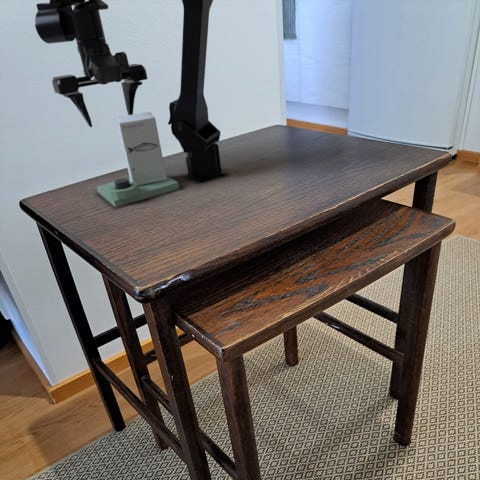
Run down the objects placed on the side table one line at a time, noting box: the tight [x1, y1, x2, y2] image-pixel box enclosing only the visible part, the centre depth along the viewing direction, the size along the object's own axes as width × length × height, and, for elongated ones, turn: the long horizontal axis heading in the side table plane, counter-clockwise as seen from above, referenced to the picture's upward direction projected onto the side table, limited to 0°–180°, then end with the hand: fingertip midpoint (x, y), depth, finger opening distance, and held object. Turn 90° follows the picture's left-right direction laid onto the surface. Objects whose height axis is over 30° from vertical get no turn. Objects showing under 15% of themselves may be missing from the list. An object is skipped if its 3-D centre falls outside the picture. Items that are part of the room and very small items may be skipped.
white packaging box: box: [114, 111, 168, 185], centre depth 93 cm, size 7×7×13 cm
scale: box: [96, 176, 180, 208], centre depth 94 cm, size 14×13×3 cm
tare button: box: [114, 177, 130, 190], centre depth 89 cm, size 3×3×2 cm
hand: (111, 122), depth 99 cm, fingers open, 9 cm apart
